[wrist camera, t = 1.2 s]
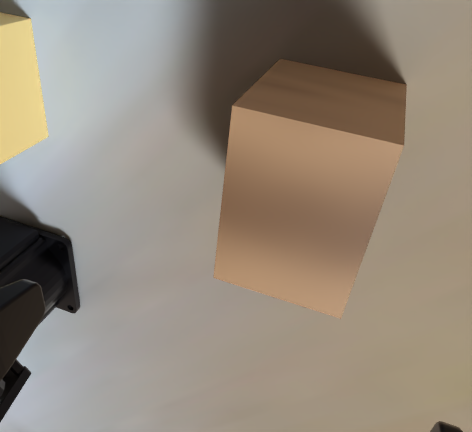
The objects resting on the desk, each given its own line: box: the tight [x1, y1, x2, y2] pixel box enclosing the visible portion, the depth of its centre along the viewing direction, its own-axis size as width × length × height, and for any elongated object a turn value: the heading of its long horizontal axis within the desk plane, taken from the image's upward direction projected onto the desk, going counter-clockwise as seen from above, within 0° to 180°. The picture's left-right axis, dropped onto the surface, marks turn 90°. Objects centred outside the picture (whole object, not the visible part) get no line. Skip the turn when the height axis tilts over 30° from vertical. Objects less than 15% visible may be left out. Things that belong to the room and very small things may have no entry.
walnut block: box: [214, 59, 406, 319], centre depth 17 cm, size 7×5×6 cm
